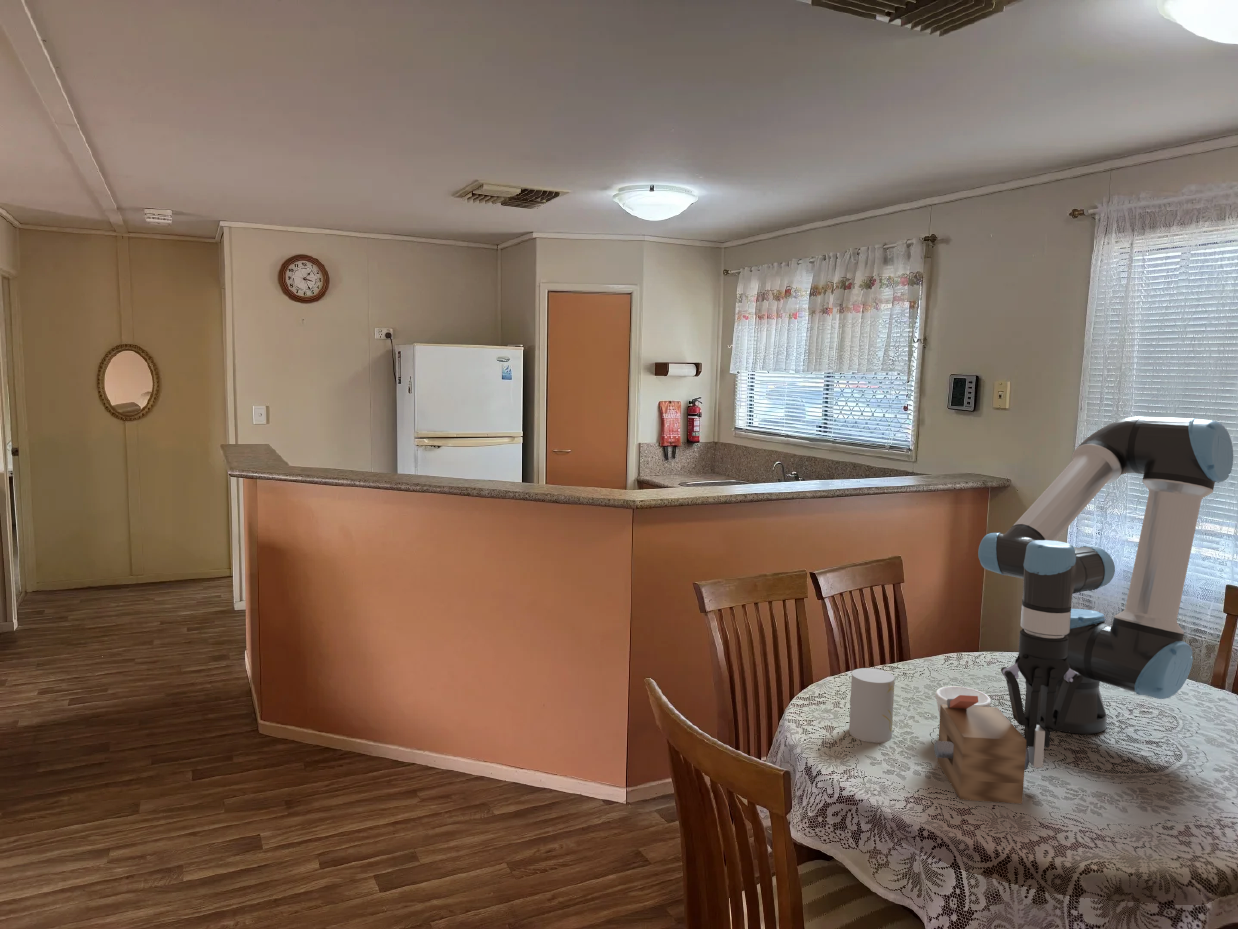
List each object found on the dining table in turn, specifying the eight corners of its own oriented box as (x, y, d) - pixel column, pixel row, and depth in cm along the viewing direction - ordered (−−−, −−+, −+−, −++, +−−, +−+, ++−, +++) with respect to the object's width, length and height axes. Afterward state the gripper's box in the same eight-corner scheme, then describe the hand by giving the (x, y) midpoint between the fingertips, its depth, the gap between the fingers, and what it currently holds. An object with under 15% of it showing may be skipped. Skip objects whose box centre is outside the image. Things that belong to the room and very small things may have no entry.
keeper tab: (965, 709, 151) (964, 700, 152) (978, 702, 144) (977, 692, 145) (947, 708, 151) (946, 699, 152) (959, 701, 144) (958, 691, 145)
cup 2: (963, 756, 156) (966, 708, 155) (922, 736, 165) (924, 690, 164) (999, 746, 161) (1002, 700, 160) (957, 726, 169) (960, 682, 168)
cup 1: (894, 744, 161) (897, 684, 160) (850, 740, 162) (853, 680, 161) (889, 727, 169) (892, 670, 167) (847, 723, 170) (850, 666, 169)
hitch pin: (1016, 762, 148) (1018, 733, 147) (1027, 775, 142) (1029, 746, 142) (931, 756, 149) (933, 728, 149) (939, 770, 144) (941, 741, 143)
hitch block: (993, 765, 153) (997, 707, 151) (1022, 804, 139) (1026, 740, 138) (937, 762, 154) (940, 704, 152) (959, 799, 140) (963, 737, 139)
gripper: (1074, 627, 145) (1065, 756, 148) (997, 623, 147) (988, 752, 149) (1094, 640, 138) (1084, 776, 140) (1012, 636, 139) (1003, 771, 142)
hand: (1035, 763), depth 145 cm, fingers closed
